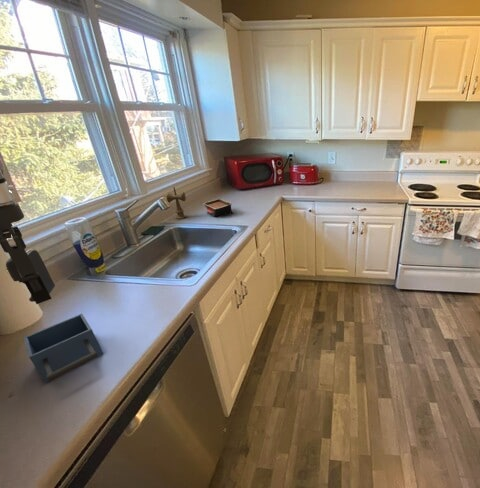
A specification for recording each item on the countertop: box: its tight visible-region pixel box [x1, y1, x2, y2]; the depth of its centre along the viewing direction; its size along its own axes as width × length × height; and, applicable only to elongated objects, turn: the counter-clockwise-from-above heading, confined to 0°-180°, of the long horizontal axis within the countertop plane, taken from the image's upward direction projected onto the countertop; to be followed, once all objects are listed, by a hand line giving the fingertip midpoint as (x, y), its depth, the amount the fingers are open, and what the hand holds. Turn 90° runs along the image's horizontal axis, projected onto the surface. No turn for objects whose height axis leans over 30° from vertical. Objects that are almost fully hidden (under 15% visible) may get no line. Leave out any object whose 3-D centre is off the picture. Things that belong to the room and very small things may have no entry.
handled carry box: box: [23, 313, 104, 384], centre depth 72 cm, size 18×12×9 cm, turn 50°
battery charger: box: [5, 249, 56, 303], centre depth 66 cm, size 7×4×11 cm, turn 24°
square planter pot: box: [202, 198, 233, 218], centre depth 180 cm, size 14×18×10 cm
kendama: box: [165, 186, 187, 220], centre depth 170 cm, size 6×10×20 cm, turn 100°
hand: (40, 294), depth 68 cm, fingers closed on battery charger, 7 cm apart
